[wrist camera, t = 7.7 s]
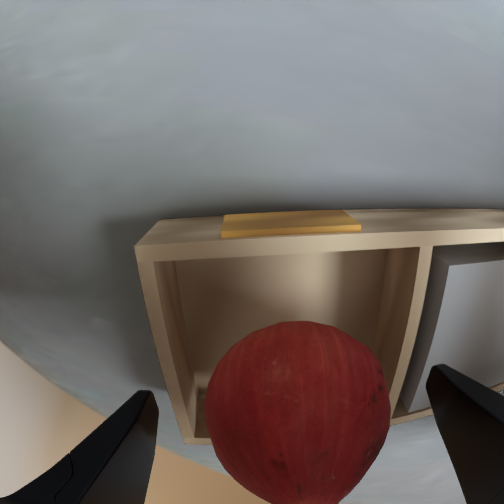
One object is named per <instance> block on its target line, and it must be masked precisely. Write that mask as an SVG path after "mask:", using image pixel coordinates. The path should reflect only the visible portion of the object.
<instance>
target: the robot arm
mask: <svg viewBox="0 0 504 504" xmlns="http://www.w3.org/2000/svg"><path fill="white" fill-rule="evenodd" d="M426 391H427V395H428V398H429V401H430V404H431V407H432V411H433V414H434V417H435V421H436V424H437V426H438V429H439V431H440V434H441V436H442V439H443V441H444V444H445V446H446V448H447V451H448V454H449V456H450V459H451V461H452V464H453V466H454V469H455V472H456V474H457V477H458V480H459V483H460V486H461V488H462V491H463V494H464V497H465V500H466V503H467V504H504V396H503V395H501V394H499V393H498V392H496V391H494V390H492V389H490V388H488V387H486V386H485V385H483V384H481V383H479V382H477V381H475V380H473V379H472V378H470V377H468V376H466V375H464V374H462V373H460V372H459V371H457V370H455V369H453V368H451V367H449V366H447V365H446V364H443V363H441V364H437V365H434V366H432V368H431V370H430V373H429V376H428V379H427V381H426ZM158 417H159V410H158V406H157V403H156V400H155V397H154V394H153V392H152V391H150V390H139V391H137V392H136V393H135V394H134V395H133V396H132V397H131V398H130V399H128V400H127V401H126V402H125V403H124V404H123V405H122V406H121V407H120V408H119V409H117V410H116V411H115V412H114V413H113V414H112V415H111V416H110V417H109V418H107V419H106V420H105V421H104V422H103V423H102V424H101V425H100V426H99V427H97V429H95V430H94V431H93V432H92V433H91V434H90V435H89V436H87V437H86V438H85V439H84V440H83V441H82V442H81V443H80V444H78V445H77V446H76V447H75V448H74V449H73V450H72V451H71V452H70V454H69V453H68V454H67V455H66V456H65V457H63V458H62V459H61V460H60V461H59V462H58V463H56V464H55V465H54V466H53V467H52V468H50V469H49V470H47V471H46V472H45V473H43V474H42V475H40V476H39V477H38V478H36V479H35V480H33V481H32V482H30V483H29V484H27V485H26V486H24V487H22V488H21V489H20V490H18V491H16V492H15V493H13V494H11V495H9V496H6V497H3V498H0V504H144V502H145V497H146V493H147V488H148V483H149V478H150V474H151V469H152V464H153V460H154V455H155V447H156V436H157V426H158Z"/></svg>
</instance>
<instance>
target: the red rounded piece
mask: <svg viewBox="0 0 504 504" xmlns="http://www.w3.org/2000/svg"><path fill="white" fill-rule="evenodd" d="M204 412H205V420H206V427H207V430H208V433H209V436H210V438H211V441H212V444H213V447H214V450H215V453H216V456H217V457H218V459H219V461H220V462H221V464H222V465H223V467H224V469H225V470H226V471H227V472H228V473H229V474H230V475H231V476H232V477H233V478H234V479H235V480H236V481H237V482H238V483H240V484H241V485H242V486H243V487H244V488H246V489H247V490H249V491H250V492H252V493H253V494H255V495H256V496H258V497H260V498H262V499H264V500H266V501H267V502H269V503H271V504H338V503H339V502H340V501H341V500H342V499H343V498H344V497H345V496H346V495H348V494H349V493H350V492H351V491H352V490H353V489H354V487H355V486H356V485H357V484H358V483H359V482H360V480H361V479H362V478H363V476H364V475H365V474H366V472H367V471H368V469H369V468H370V466H371V465H372V463H373V462H374V460H375V459H376V457H377V455H378V454H379V452H380V450H381V448H382V446H383V445H384V442H385V439H386V436H387V433H388V430H389V427H390V416H391V405H390V400H389V395H388V390H387V385H386V382H385V378H384V374H383V371H382V367H381V365H380V363H379V362H378V360H377V359H376V357H375V356H374V354H373V353H372V351H371V350H370V348H369V347H367V346H365V345H364V344H362V343H361V342H359V341H357V340H356V339H354V338H353V337H351V336H350V335H348V334H346V333H345V332H343V331H341V330H339V329H338V328H336V327H334V326H330V325H326V324H321V323H316V322H312V321H288V322H280V323H277V324H274V325H271V326H268V327H265V328H262V329H259V330H256V331H254V332H251V333H250V334H248V335H247V336H246V337H244V338H243V339H241V340H240V341H239V342H237V343H236V344H235V345H233V346H232V347H230V349H229V350H228V351H227V352H226V354H225V355H224V356H223V357H222V359H221V360H220V361H219V362H218V364H217V366H216V368H215V370H214V372H213V374H212V376H211V378H210V380H209V382H208V387H207V392H206V397H205V401H204Z"/></svg>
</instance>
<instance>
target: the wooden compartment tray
mask: <svg viewBox="0 0 504 504" xmlns="http://www.w3.org/2000/svg"><path fill="white" fill-rule="evenodd" d="M134 248H135V254H136V260H137V265H138V271H139V276H140V281H141V286H142V291H143V296H144V300H145V305H146V309H147V314H148V318H149V322H150V327H151V331H152V335H153V339H154V343H155V347H156V351H157V355H158V358H159V362H160V366H161V369H162V373H163V376H164V380H165V383H166V387H167V390H168V394H169V397H170V400H171V403H172V407H173V410H174V413H175V416H176V419H177V422H178V425H179V428H180V431H181V434H182V437H183V440H184V443H185V444H198V445H213V444H212V441H211V438H210V436H209V433H208V430H207V427H206V420H205V412H204V401H205V397H206V392H207V387H208V382H209V380H210V378H211V376H212V374H213V372H214V370H215V368H216V366H217V364H218V362H219V361H220V360H221V359H222V357H223V356H224V355H225V354H226V352H227V351H228V350H229V349H230V347H232V346H233V345H235V344H236V343H237V342H239V341H240V340H241V339H243V338H244V337H246V336H247V335H248V334H250V333H251V332H254V331H256V330H259V329H262V328H265V327H268V326H271V325H274V324H277V323H280V322H288V321H312V322H316V323H321V324H326V325H330V326H334V327H336V328H338V329H339V330H341V331H343V332H345V333H346V334H348V335H350V336H351V337H353V338H354V339H356V340H357V341H359V342H361V343H362V344H364V345H365V346H367V347H369V348H370V350H371V351H372V353H373V354H374V356H375V357H376V359H377V360H378V362H379V363H380V365H381V367H382V371H383V374H384V378H385V382H386V385H387V390H388V395H389V400H390V405H391V416H390V426H391V425H395V424H399V423H403V422H407V421H411V420H415V419H419V418H422V417H426V416H429V415H433V411H432V407H431V404H430V401H429V398H428V395H427V391H426V381H427V379H428V376H429V373H430V370H431V368H432V366H434V365H437V364H441V363H443V364H446V365H447V366H449V367H451V368H453V369H455V370H457V371H459V372H460V373H462V374H464V375H466V376H468V377H470V378H472V379H473V380H475V381H477V382H479V383H481V384H483V385H485V386H486V387H488V388H490V389H492V390H494V391H496V392H498V391H500V390H502V389H504V209H440V208H429V209H355V210H342V209H341V210H311V211H286V212H265V213H246V214H229V215H219V216H204V217H189V218H176V219H163V220H159V221H158V222H157V223H156V224H155V225H154V226H153V227H152V228H151V229H150V230H149V231H148V232H147V233H146V234H145V235H144V236H143V237H142V238H141V239H140V240H139V241H138V242H137V243H136V245H135V246H134Z"/></svg>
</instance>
